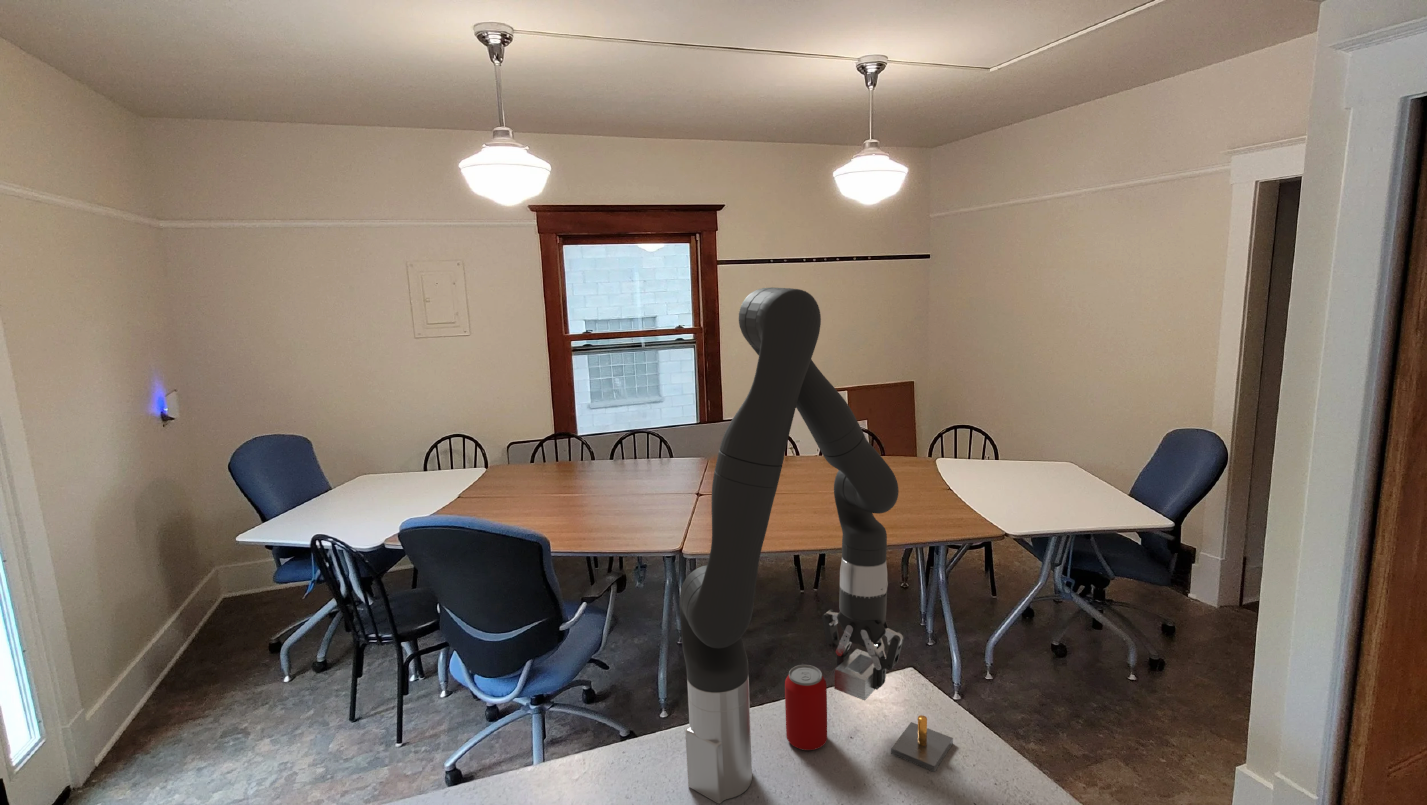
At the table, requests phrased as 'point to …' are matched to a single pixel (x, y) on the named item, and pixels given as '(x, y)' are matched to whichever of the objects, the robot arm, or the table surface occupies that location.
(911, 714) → the table surface
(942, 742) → the grey peg base
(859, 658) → the silver frame
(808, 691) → the beverage can
